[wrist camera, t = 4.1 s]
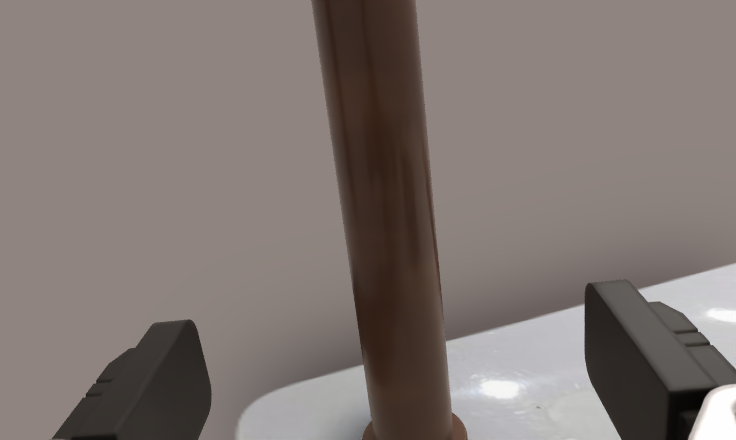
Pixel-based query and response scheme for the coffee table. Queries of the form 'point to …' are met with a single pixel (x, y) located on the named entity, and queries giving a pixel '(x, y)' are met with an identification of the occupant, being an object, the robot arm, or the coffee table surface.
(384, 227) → the rod
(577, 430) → the coffee table surface
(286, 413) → the coffee table surface
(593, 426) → the coffee table surface
